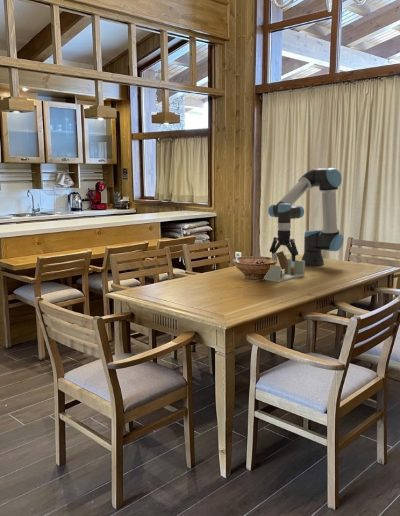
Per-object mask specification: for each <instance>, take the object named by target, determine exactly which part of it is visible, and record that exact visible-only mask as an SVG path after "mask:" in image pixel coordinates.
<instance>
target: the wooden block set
mask: <svg viewBox="0 0 400 516" xmlns="http://www.w3.org/2000/svg"><path fill="white" fill-rule="evenodd" d="M276 254H277V261H278V263H279V266H281V270H285V268H288V261H287V258H288V257H287V255H286V254H285V253H284V251H283V250H281V251H279V252H276Z"/></svg>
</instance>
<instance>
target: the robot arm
mask: <svg viewBox="0 0 400 516" xmlns="http://www.w3.org/2000/svg"><path fill="white" fill-rule="evenodd" d="M341 184H342V174H341V171H340V170H338V169H337V168H335V167H334V168H333V167H327V168H326V167H325V168H324V167H323V168H317V167H316V168H312V169H311V170H309V171H307V172H305V173H304V174H303V175H302V176H301V177H300V178H299V179H298V182H297V183H295V185H294V186H293V187H292V188H291V189H290V190H289V191H288V192H287V193H286V194H285V195H284V196H283V197H282V198H281V199H280V200H279V201H278V202H277V203H276V204H272V205H271V204H270V205H269V207H268V209H267V210H268V213H267V214H268V215H269V216H270V217H272V218H277V236H274V237H273V240H272V244H271V246H270V248H269V252H270V253H271V257H272V261H273V260H276V261H277V262H276V264H275V265H277V264H278V257H277V254H276V253H277V251H278V250H279V249H280V247H281V246H285V247H286V248H287V250H288V251H289V254H290V259H291V264H290V267H294V261H295V260H296V256H298V255H299V251H298V247H297V245H296V242H295V238H291V228H292V227H291V224H292V223H291V221H292V219H294V220H295V219H300V218H303V216H304V215H305V209H304V207H303V206H301V205H295V203H296V202H297V201H298V200H299V199H300V198H301V197H302V196H303V194H305V193H306V192H307V191H310V190H311V189H312V188H313V187H314V188H316V187H317V188H318V189H319V191H320V192H321V204H322V206H321V207H322V224H323V228H322V229H313V230H306V231H305V232H304V237H303V238H304V239H303V241H304V245H303V246H304V247H303V254H302V257H301V260H302V261H305V266H323V265H324V264H325V260H324V256H323V254H322V251H329V252H338V251H340V250H341V248H342V246H343V244H344V236H343V234H342V233H340V229H339V228H338V225H337V221H338V220H337V217H338V216H337V194H336V192H337V191H338V190H339V187H340V186H341Z"/></svg>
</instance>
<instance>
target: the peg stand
mask: <svg viewBox="0 0 400 516" xmlns="http://www.w3.org/2000/svg"><path fill="white" fill-rule="evenodd" d="M286 258H287V261H288V268H285V269H283V270H284V271H283V270H282V269H281V266H280V265H277V264H275V265H270V269H269V270H268V272H267V273H266V275H265V276H264V279H265V281H270V282H274V283H275V282H276V283H281V282H285V281H290V280H293V279H297V278H301V276H302V277H304V276H306V275H305V274H306V273H305V270H306V267H305V266H306V265H305V261H302V259H295V261H294V267H290V264H291V258H288V257H286ZM264 279H263V280H264Z"/></svg>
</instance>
